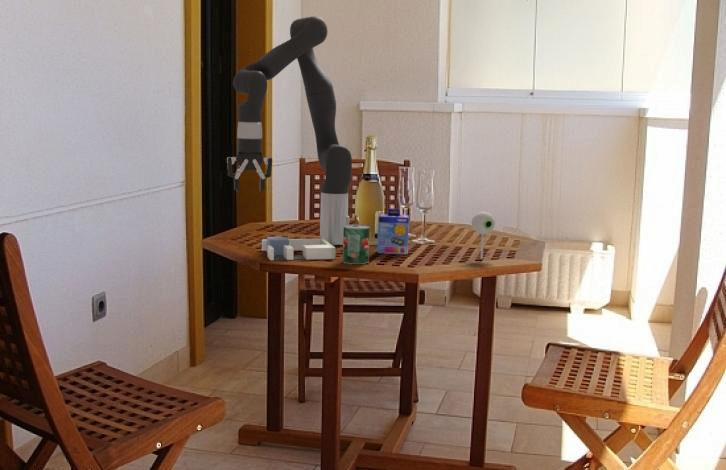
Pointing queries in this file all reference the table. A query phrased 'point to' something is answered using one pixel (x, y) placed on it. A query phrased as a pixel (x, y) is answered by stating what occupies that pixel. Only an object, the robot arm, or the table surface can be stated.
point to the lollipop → (483, 225)
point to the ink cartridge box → (393, 233)
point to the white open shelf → (309, 247)
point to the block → (277, 244)
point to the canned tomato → (356, 244)
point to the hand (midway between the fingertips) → (249, 191)
